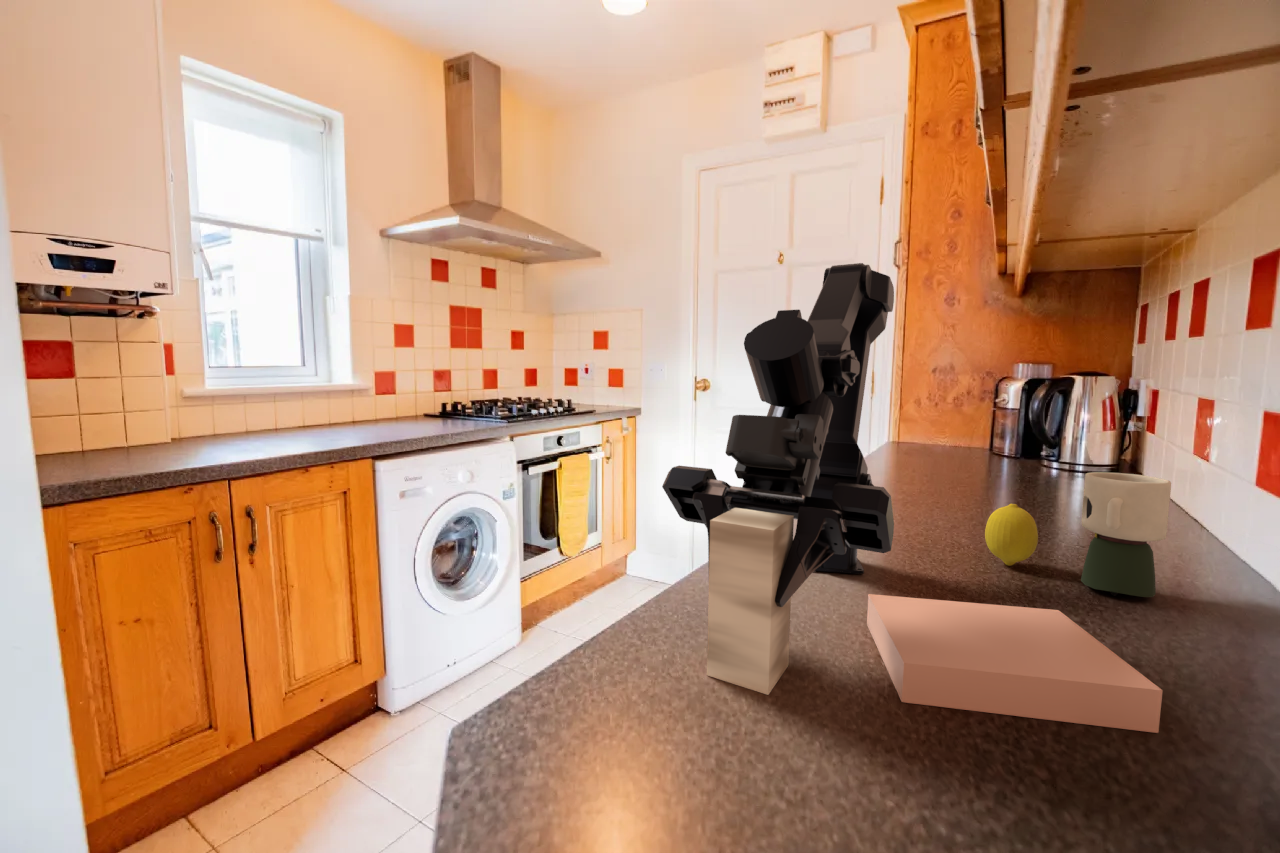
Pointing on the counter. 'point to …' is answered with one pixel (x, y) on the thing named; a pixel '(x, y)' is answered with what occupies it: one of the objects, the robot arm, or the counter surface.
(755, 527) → the birch block
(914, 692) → the terracotta stand
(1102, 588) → the character mug
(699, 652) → the counter surface
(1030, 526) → the lemon
